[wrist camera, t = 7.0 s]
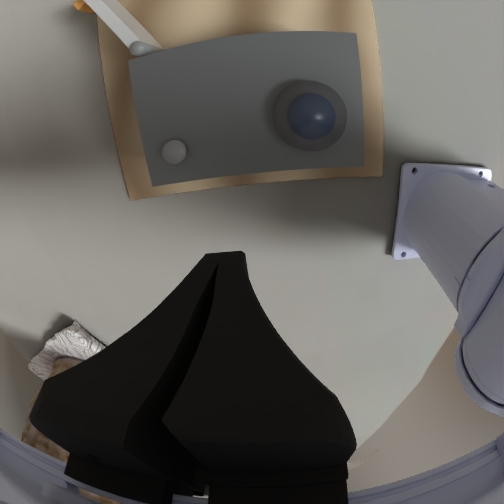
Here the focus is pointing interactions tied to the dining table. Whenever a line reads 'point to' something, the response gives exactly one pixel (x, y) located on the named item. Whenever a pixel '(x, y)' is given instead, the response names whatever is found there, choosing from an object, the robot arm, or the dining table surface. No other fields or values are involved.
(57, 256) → the dining table surface
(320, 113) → the camera body
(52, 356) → the cookie jar
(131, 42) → the side door
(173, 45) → the wooden board
